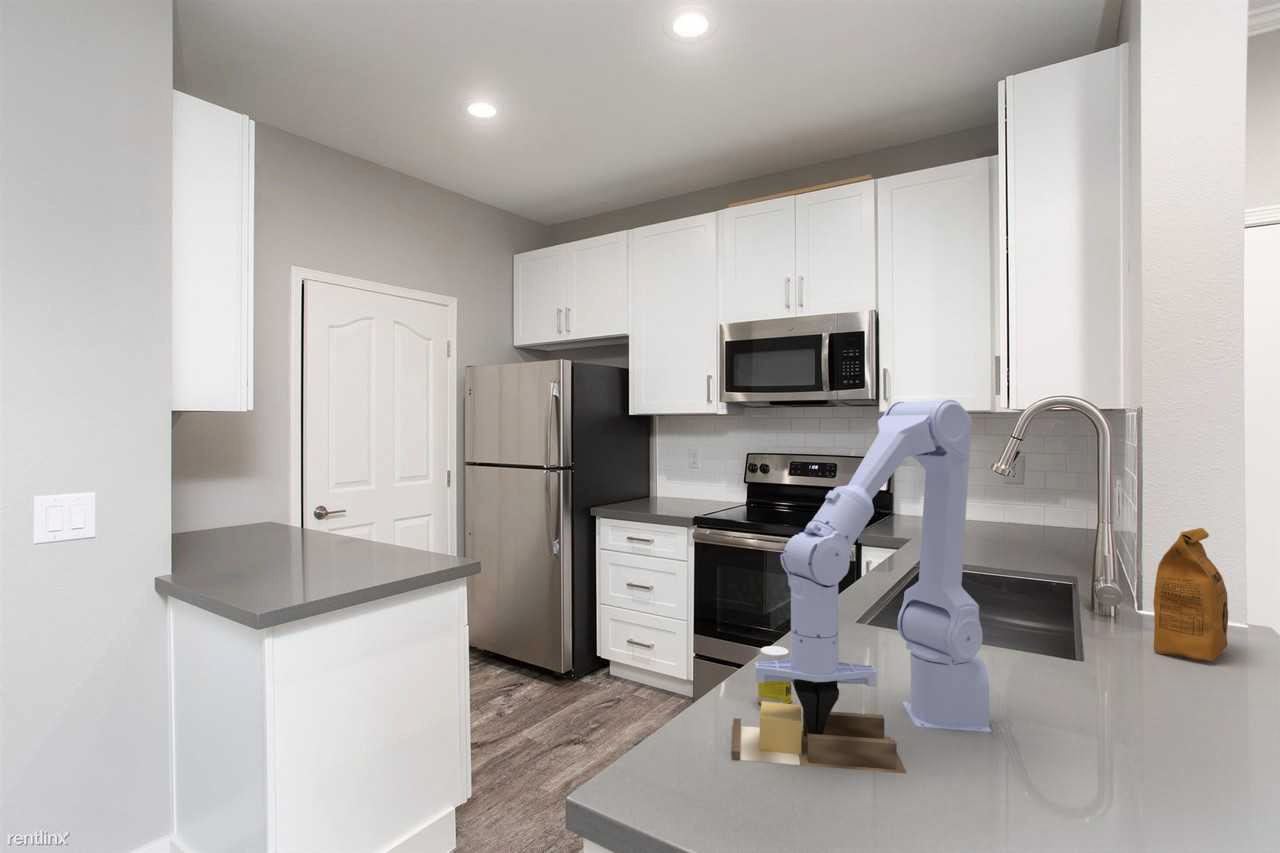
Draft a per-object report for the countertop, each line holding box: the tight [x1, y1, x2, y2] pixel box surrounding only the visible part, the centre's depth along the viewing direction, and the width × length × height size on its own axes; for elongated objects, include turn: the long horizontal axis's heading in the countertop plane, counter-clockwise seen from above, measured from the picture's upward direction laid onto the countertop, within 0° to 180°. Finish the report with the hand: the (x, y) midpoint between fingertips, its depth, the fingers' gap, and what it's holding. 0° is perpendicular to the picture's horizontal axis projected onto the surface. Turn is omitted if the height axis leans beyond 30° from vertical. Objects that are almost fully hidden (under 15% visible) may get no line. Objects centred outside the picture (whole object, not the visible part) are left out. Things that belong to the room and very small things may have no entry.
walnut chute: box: [731, 710, 908, 774], centre depth 82 cm, size 20×9×4 cm, turn 81°
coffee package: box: [1152, 527, 1229, 662], centre depth 117 cm, size 10×12×22 cm
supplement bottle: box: [757, 645, 792, 709], centre depth 94 cm, size 5×5×8 cm
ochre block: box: [759, 701, 802, 755], centre depth 83 cm, size 5×5×4 cm
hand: (814, 740), depth 82 cm, fingers closed
